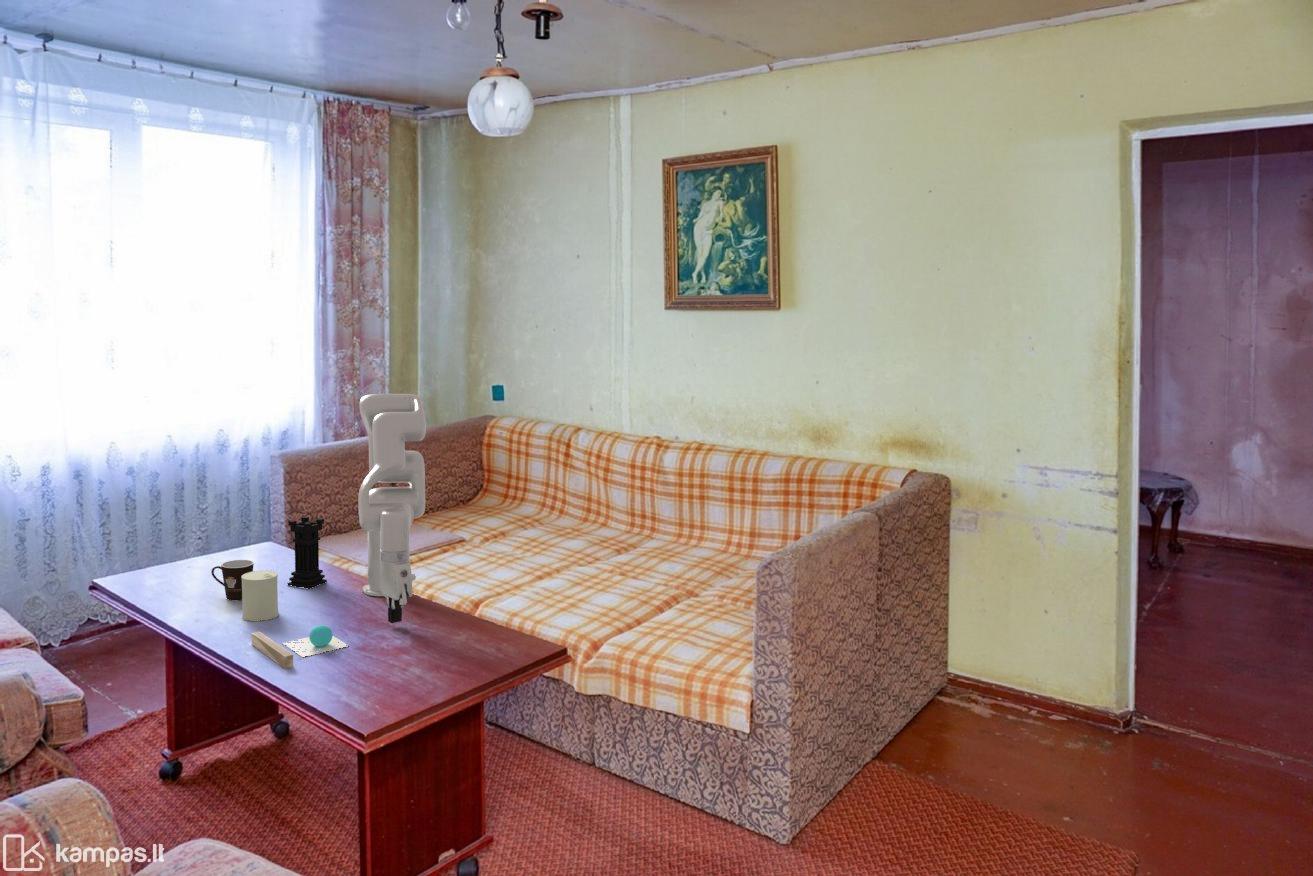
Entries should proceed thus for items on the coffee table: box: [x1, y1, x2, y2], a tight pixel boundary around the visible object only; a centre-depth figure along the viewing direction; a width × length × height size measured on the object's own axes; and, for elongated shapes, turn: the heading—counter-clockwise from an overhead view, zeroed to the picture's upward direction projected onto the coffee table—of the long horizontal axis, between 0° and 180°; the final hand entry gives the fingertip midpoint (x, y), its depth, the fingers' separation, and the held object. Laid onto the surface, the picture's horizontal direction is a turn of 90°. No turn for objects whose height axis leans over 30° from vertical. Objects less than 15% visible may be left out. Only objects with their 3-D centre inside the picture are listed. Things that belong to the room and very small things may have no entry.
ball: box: [308, 624, 333, 647], centre depth 234 cm, size 6×6×6 cm
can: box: [241, 570, 279, 622], centre depth 253 cm, size 9×9×12 cm
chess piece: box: [286, 516, 328, 590], centre depth 282 cm, size 8×8×20 cm
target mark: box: [281, 635, 349, 658], centre depth 235 cm, size 12×12×1 cm
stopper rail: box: [251, 631, 294, 670], centre depth 227 cm, size 2×20×3 cm, turn 44°
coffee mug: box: [211, 559, 255, 601], centre depth 269 cm, size 12×9×10 cm
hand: (394, 621), depth 250 cm, fingers closed
